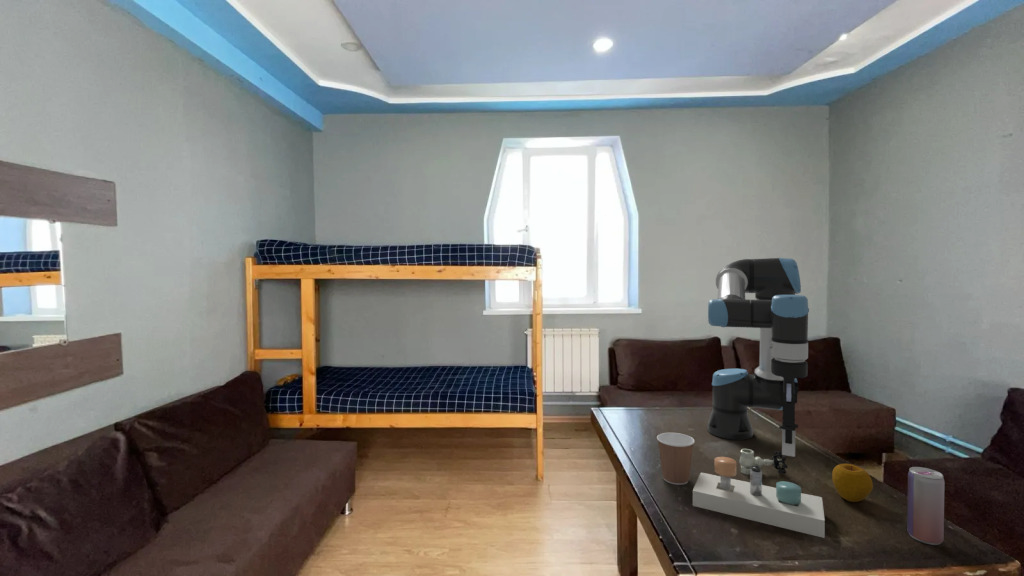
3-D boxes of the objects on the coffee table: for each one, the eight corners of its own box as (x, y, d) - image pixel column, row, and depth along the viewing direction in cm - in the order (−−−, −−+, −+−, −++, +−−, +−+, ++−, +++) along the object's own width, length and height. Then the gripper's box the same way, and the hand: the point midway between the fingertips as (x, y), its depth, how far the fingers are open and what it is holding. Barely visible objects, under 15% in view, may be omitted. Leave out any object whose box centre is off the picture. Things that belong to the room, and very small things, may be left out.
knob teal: (776, 506, 114) (776, 479, 114) (800, 512, 111) (801, 484, 111) (775, 516, 110) (775, 488, 109) (801, 522, 107) (801, 493, 107)
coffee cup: (693, 473, 134) (693, 434, 134) (695, 490, 125) (695, 447, 124) (657, 469, 138) (657, 430, 137) (656, 484, 128) (656, 443, 128)
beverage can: (900, 531, 104) (900, 467, 103) (923, 529, 104) (925, 465, 104) (925, 547, 98) (927, 479, 97) (951, 545, 98) (952, 477, 98)
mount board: (700, 486, 127) (700, 472, 127) (821, 513, 112) (821, 497, 112) (692, 505, 117) (692, 490, 116) (824, 538, 102) (824, 520, 102)
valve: (744, 477, 132) (787, 478, 131) (744, 455, 131) (787, 455, 131) (735, 467, 138) (776, 468, 137) (735, 446, 138) (776, 446, 137)
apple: (881, 505, 115) (881, 471, 114) (852, 509, 113) (852, 474, 113) (851, 489, 123) (851, 457, 123) (823, 492, 122) (824, 460, 122)
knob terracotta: (716, 480, 121) (716, 455, 121) (737, 485, 119) (737, 459, 118) (713, 489, 117) (713, 462, 117) (735, 494, 114) (735, 466, 114)
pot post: (750, 490, 116) (750, 464, 116) (762, 492, 114) (762, 466, 114) (749, 494, 114) (749, 468, 113) (761, 497, 112) (761, 470, 112)
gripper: (772, 352, 116) (771, 442, 118) (770, 363, 105) (769, 461, 107) (807, 355, 112) (806, 448, 114) (808, 366, 101) (807, 468, 103)
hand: (788, 454), depth 110 cm, fingers closed
